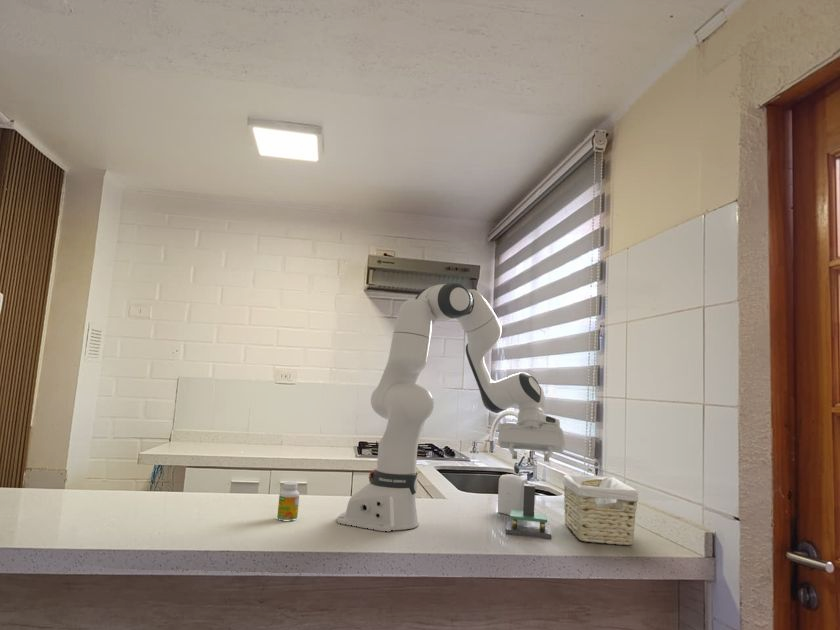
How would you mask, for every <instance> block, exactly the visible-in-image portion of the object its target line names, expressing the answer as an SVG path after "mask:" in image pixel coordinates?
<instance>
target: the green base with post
mask: <svg viewBox="0 0 840 630" xmlns="http://www.w3.org/2000/svg"><path fill="white" fill-rule="evenodd" d="M535 495H536V485H535V484H530V483H529V484H524V506H523V511H518V510H511V514H510V515H509V516H510V517H509V519H510V520H513V519H517V520H519V521H528V522H538V523H540V522H545V523H547V524H548V516H547V515H548V514H547V512H546V513H545V512H535V500H536V499H535V497H536V496H535Z"/></svg>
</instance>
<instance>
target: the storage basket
mask: <svg viewBox="0 0 840 630" xmlns="http://www.w3.org/2000/svg"><path fill="white" fill-rule="evenodd" d="M562 484H563V488H564V489H563V491H564V493H563V496H564V497H563V501H564V507H563V508H564V522H565V525H566V526H567V527H568V528H569V530H570V531H571V532H572V533H573V534H574V535H575V536H576V538H577V539H578V540H580V541H583V542H587V543H588V542H590V543H599V544H607V545H615V544H616V545H618V546H622V545H623V546H631V545H632V544H633V543H634V536H635V523H636V511H637V508H638V507H637V506H638V502H639V491H638V490H637V489H635V488H634V487H632V486H630V485H628V484H626V483H624V482H623V481H620V480H619V479H618V478H616V477H614V476H599V475H598V476H597V475H584V474H583V475H582V474H581V475H580V474H571V473H569V474H565V475H563V479H562Z"/></svg>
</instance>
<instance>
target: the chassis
mask: <svg viewBox="0 0 840 630" xmlns="http://www.w3.org/2000/svg"><path fill="white" fill-rule="evenodd" d="M550 524H551V523H548V522H547V523H545V522H535V521H526V520H517V519H510V518H509V519H507V523H506V526H505V527H506V528H505V534H506V535H514V536H521V537H531V538H541V539H547V540H549V539H550V540H552V530H551V525H550Z"/></svg>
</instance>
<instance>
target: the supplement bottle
mask: <svg viewBox="0 0 840 630" xmlns="http://www.w3.org/2000/svg"><path fill="white" fill-rule="evenodd" d="M298 486H299V485H298V482H296V481H283V482H282V490H281V491H280V492H279V495H278V497H279V498H278V505H277V506H278V508H277V517H276V518H278V519H280V520H293V519H296V518H297V519H298V513H299V504H300V492H299V491H298V490H297V489H298ZM278 519H277V520H278ZM280 520H279V521H280Z"/></svg>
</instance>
